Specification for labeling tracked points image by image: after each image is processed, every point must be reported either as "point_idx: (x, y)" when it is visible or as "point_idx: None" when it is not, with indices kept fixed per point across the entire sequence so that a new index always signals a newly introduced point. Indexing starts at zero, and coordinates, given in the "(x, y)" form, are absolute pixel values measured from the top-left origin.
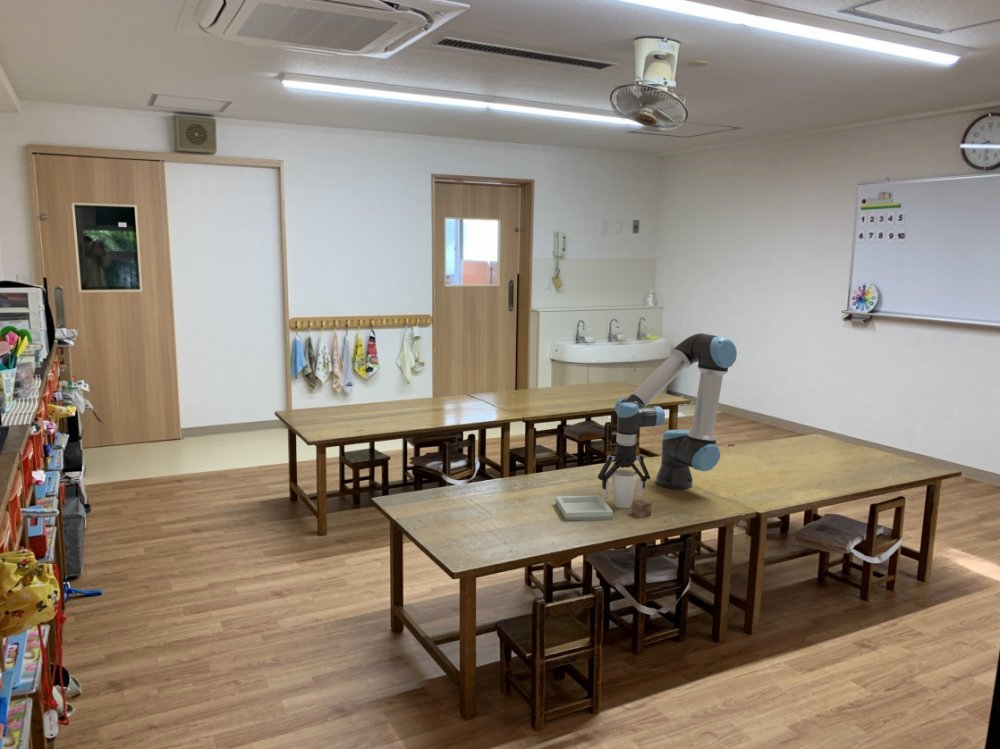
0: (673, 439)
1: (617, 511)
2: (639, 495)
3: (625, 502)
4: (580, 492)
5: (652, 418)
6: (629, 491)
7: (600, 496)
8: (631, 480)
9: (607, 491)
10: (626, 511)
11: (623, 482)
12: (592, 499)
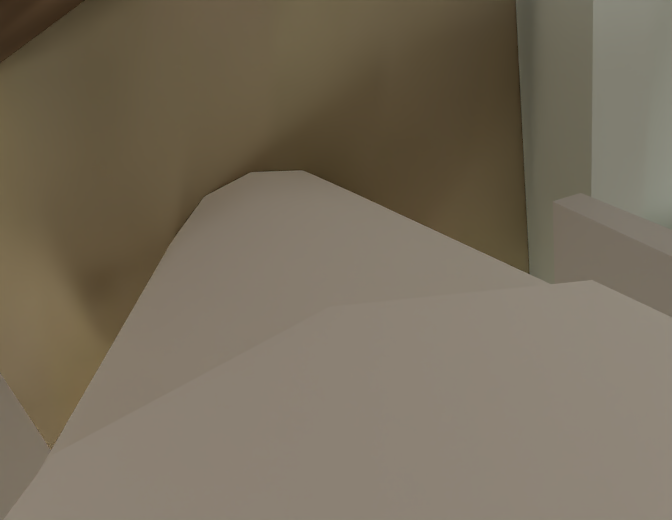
0: None
1: (367, 21)
2: (6, 415)
3: (262, 182)
4: None
5: None
6: (206, 260)
7: None
8: (115, 518)
9: (649, 239)
10: (234, 41)
11: (547, 295)
12: None
